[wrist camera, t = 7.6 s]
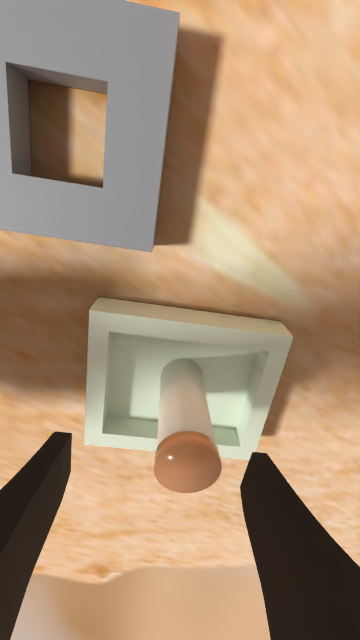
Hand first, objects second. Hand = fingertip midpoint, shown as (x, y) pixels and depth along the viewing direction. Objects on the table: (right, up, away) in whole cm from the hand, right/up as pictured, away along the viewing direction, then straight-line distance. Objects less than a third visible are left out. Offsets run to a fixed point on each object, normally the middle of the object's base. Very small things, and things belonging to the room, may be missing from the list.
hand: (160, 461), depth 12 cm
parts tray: (+1, +2, +10) cm, 10 cm away
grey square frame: (-5, +15, +4) cm, 17 cm away
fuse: (+1, +2, +9) cm, 10 cm away
